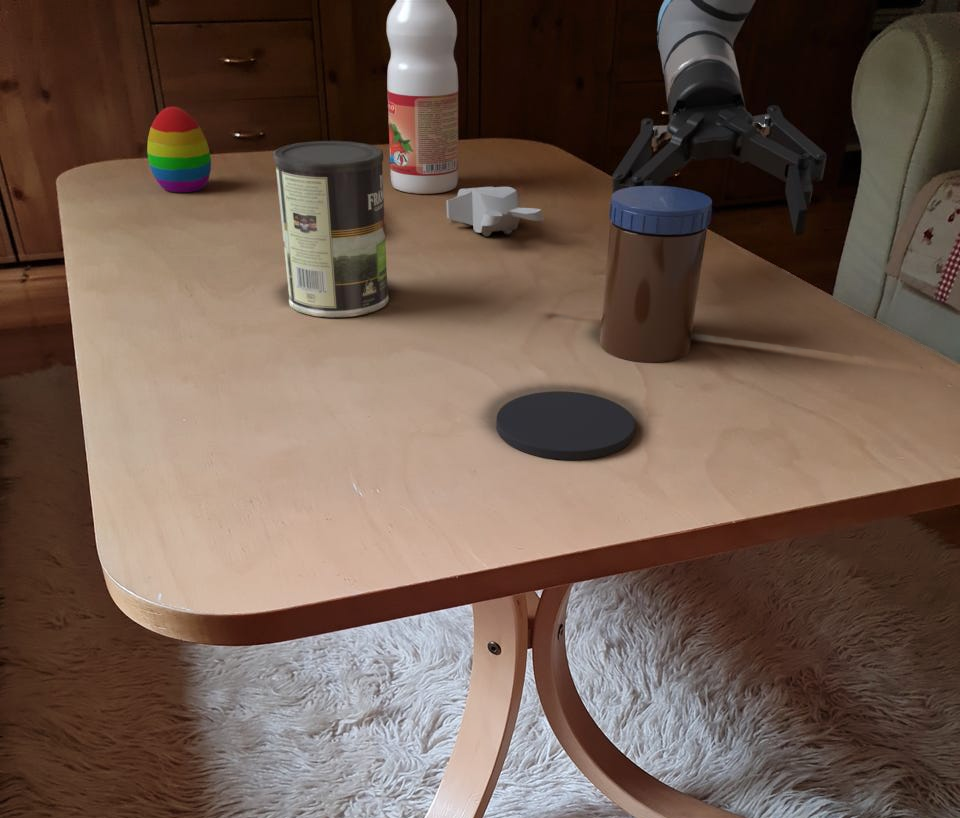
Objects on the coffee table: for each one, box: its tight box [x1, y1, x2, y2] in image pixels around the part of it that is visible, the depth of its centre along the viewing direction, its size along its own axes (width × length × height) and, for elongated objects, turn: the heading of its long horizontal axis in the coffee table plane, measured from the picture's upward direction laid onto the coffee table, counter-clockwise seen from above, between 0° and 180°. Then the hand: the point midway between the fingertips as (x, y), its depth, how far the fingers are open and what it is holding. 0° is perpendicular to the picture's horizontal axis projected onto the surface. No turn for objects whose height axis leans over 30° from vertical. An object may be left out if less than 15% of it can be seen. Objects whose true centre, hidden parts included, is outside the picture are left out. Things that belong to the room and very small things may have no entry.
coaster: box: [495, 390, 636, 461], centre depth 80 cm, size 11×11×1 cm
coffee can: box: [272, 140, 390, 318], centre depth 99 cm, size 10×10×14 cm
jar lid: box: [608, 185, 713, 235], centre depth 88 cm, size 9×9×2 cm
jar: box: [599, 221, 708, 363], centre depth 91 cm, size 8×8×13 cm
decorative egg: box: [146, 106, 212, 193], centre depth 136 cm, size 8×8×10 cm
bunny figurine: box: [445, 185, 545, 237], centre depth 123 cm, size 10×5×15 cm
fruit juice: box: [385, 0, 459, 195], centre depth 133 cm, size 9×9×28 cm
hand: (726, 230), depth 94 cm, fingers open, 13 cm apart
